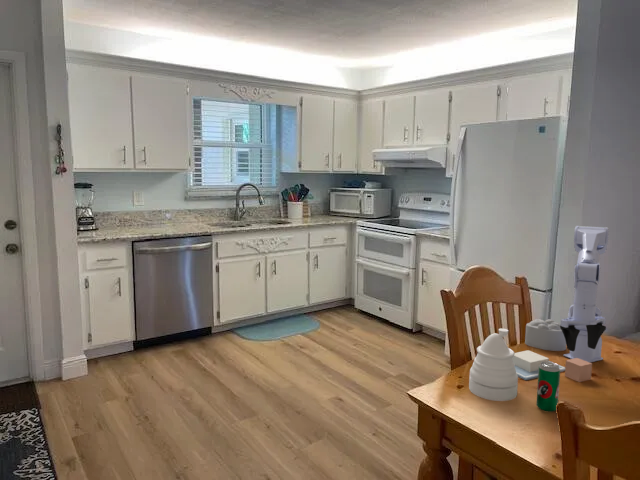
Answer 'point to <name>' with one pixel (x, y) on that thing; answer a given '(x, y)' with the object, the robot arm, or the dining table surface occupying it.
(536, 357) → the butter dish
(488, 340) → the honey pot
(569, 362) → the terracotta block
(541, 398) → the soda can
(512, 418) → the dining table surface
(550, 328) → the lumpy-topped squat cylinder
